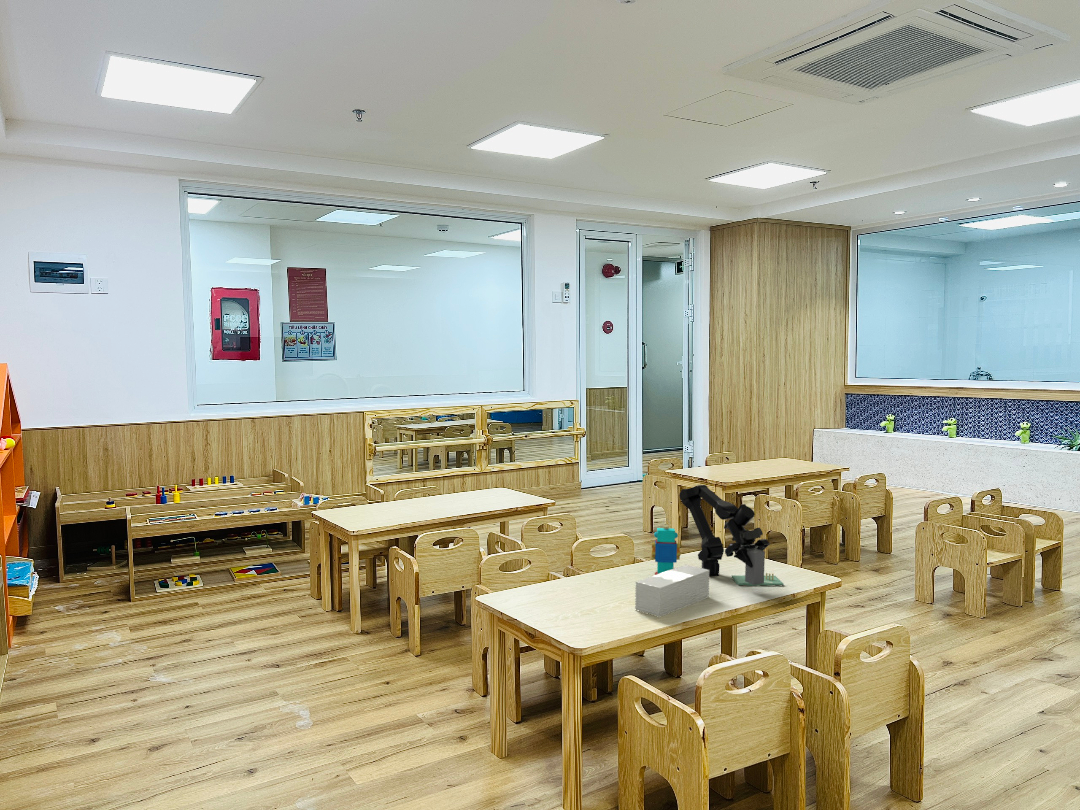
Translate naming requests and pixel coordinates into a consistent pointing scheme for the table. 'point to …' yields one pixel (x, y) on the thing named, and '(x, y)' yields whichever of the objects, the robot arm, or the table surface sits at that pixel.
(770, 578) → the board
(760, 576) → the block
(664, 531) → the toy robot
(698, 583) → the stack of papers
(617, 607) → the table surface
